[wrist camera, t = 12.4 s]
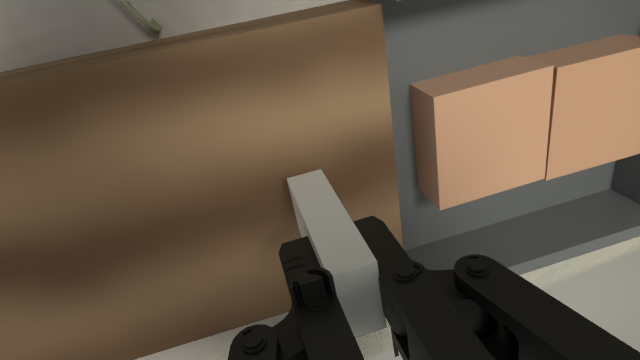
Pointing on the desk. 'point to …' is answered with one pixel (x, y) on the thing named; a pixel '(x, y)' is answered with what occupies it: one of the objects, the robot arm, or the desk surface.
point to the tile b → (593, 104)
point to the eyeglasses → (149, 24)
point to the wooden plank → (182, 178)
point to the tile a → (481, 129)
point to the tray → (523, 201)
